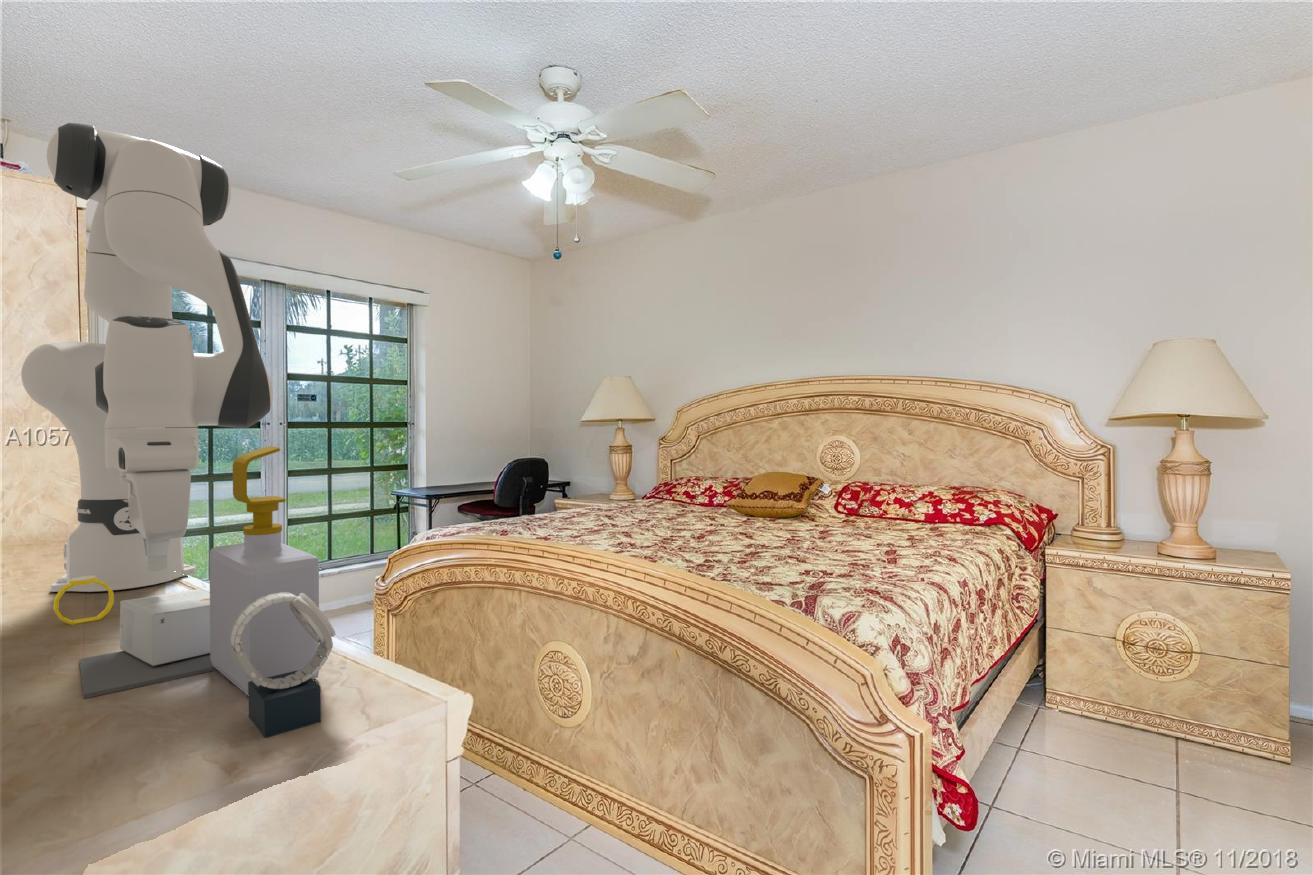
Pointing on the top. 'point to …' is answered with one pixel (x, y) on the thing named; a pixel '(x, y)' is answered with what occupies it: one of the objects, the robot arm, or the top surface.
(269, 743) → the top surface
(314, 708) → the watch
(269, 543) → the soap bottle
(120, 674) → the mat
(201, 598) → the small box
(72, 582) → the watch
